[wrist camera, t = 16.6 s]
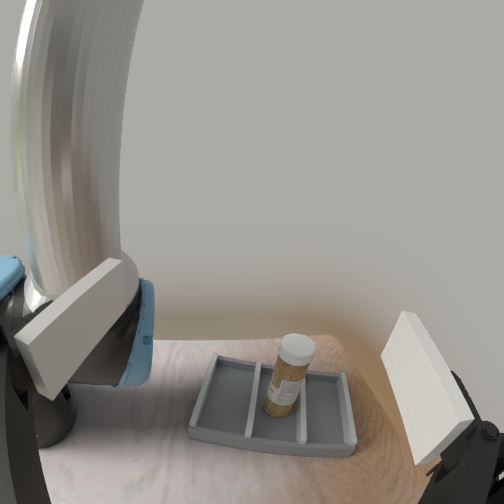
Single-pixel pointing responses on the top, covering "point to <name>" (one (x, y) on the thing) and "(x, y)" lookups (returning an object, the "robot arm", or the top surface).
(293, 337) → the spice jar
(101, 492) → the top surface
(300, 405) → the tray
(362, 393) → the top surface
